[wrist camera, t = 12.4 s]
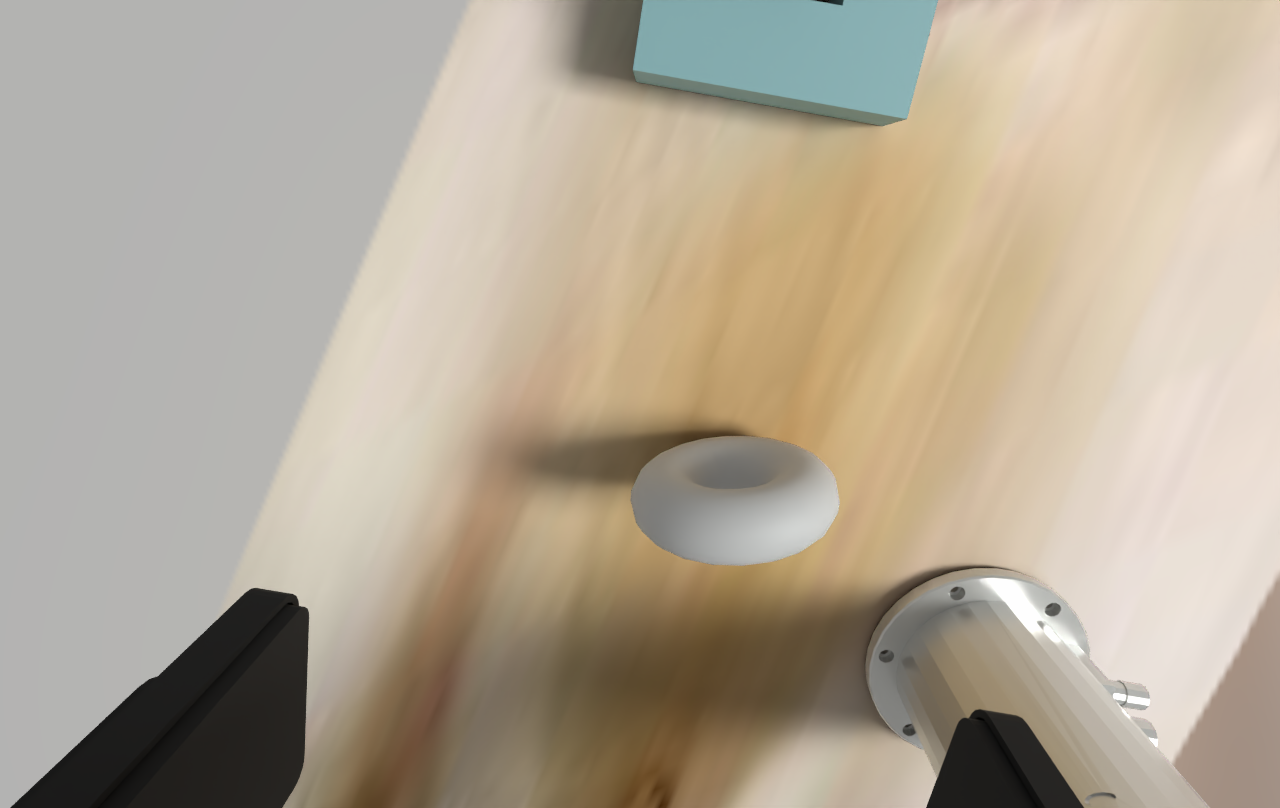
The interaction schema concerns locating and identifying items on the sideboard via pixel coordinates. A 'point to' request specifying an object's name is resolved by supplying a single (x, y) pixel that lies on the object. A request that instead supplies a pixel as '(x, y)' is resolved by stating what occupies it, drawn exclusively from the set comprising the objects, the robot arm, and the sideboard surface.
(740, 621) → the sideboard surface
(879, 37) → the slot block
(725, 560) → the donut
